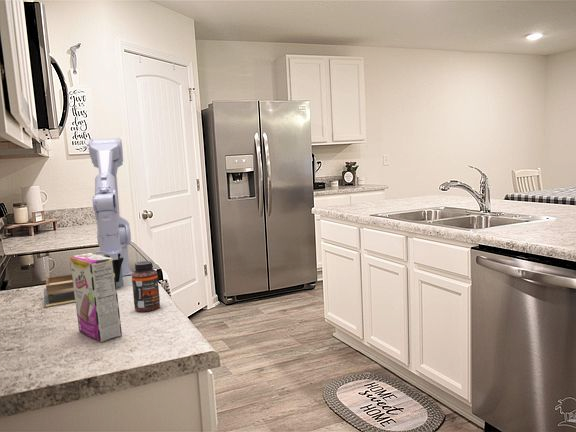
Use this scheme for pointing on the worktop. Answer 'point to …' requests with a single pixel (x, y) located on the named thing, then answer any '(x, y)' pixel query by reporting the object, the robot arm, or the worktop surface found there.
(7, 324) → the worktop surface
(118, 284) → the block
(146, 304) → the supplement bottle
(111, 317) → the candy bar box
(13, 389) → the worktop surface
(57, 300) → the plate
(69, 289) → the shallow wooden tray
